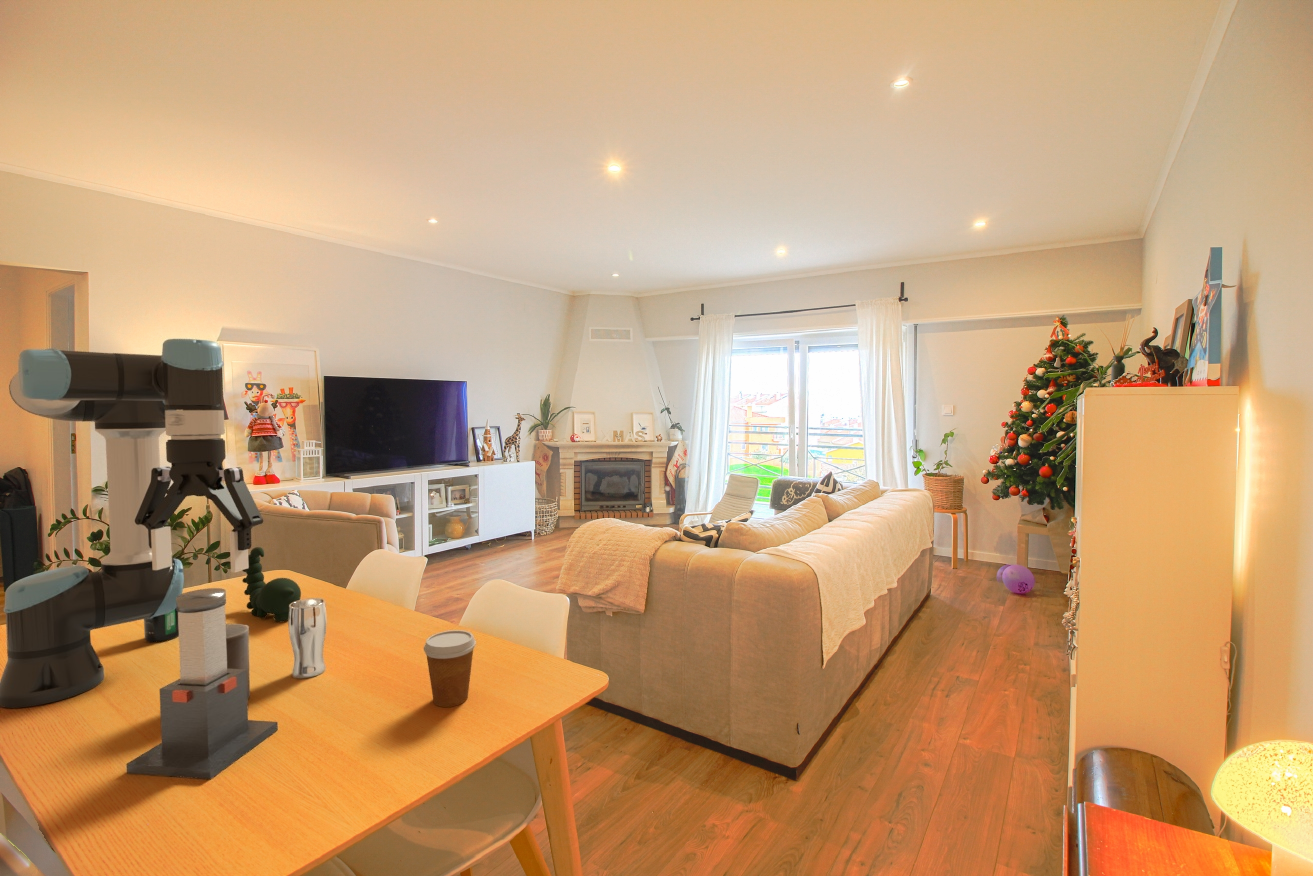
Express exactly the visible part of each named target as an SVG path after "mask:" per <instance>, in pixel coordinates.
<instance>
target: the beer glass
mask: <svg viewBox="0 0 1313 876" xmlns="http://www.w3.org/2000/svg"><path fill="white" fill-rule="evenodd" d="M327 624H328V623H327V609H326V600H325V599H324V598H319V597H311V598H303V599H302V598H301V599H300V600H298V601H295V602H293V603H291V604H290V605H289V620H288V624H287V625H288V634H289V638H290V642H291V643H290V644H291V647H292V652H293V658H294V659H293V668H292V674H291V675H292V677H293V678H295V679H301V680H302V679H311V678H314V677H317V676H319V675H322V674H323V673H324V672H325V671H326V664H325V660H324V645H325V639H326V633H327Z"/></svg>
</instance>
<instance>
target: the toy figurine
mask: <svg viewBox="0 0 1313 876" xmlns="http://www.w3.org/2000/svg"><path fill="white" fill-rule="evenodd" d="M260 557H261V558H264V557H265V550H264V548H262V547H259V546H256V547H253V548H252V549H251V550H250V554H248V563H249V568H247V569H244V570H241V571H242V572H243V573H246V574H247V575H246V577H244V578H242V580H241V581H242V583H244V584H245V583H246V585H247V586H246V589H245V590H244V591H243V593H244V595H245V596H249V598H248V600H249V601H248V602H247V603H246V608H247V609H248V610H251V612H250V614H251V616H253V617H256V616H257V617H258V618H259V619H263V618H266V617H267V616H268V615H269V614H270V615H273V620H274V621H275V622H277V623H283V621H284V622H286V621H289V605H290V604H291V603H293V602H295V601H298V600H301V599H302V597H301V596H302V591H301V587H300V586H299V584H297V582H296V581H295V580H293V579H290V578H287V577H276V578H274V579H271V580H270V581H268V582H265V581H264V580H265V575H264V573H263V572H262V570H263V566H262V564H261V558H260Z"/></svg>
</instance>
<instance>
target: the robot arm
mask: <svg viewBox="0 0 1313 876" xmlns="http://www.w3.org/2000/svg"><path fill="white" fill-rule="evenodd" d="M18 356H19V357H18V372H16V373H15V374H14V375H13V377H12V378H11V379H10V382H9V385H8V388H9V396H10V397H11V399H12V401H13V402H14V403H15V404H16V405H17V406H18V407H19V408H20V409H22V410H24V411H25V412H28V413H29V414H32V415H35V416H39V417H42V418H47V419H51V420H56V421H66V422H92V423H94V431H95V432H97V433H98V434H100V435H101V436H102V437H103V438H104V440H105V455H106V476H107V477H106V478H107V479H106V480H107V499H108V501H107V503H108V523H109V545H110V546H109V549H110V551H109V553H108V554H107V555H106V556H105V557H103V559H102V560H101V562H100V564H101V565H100V568H101V569H100V570H97V571H90V570H89V569H88V568H87V567H86V566H83V565H73V566H70V567H69V566H65V567H59V568H54V569H50V570H45V571H42V572H39V573H35V574H32V575H29V576H26V577H23V578H21V579H19V580H17V581H14V582H13V583H12V584H10V585H9V586H8V587H7V588H6V590H5V593H4V607H3V609H2V610H3V612H4V613H5V626H6V629H5V631H6V654H7V661H6V664H5V667H4V670H3V672H2V675H1V678H0V707H1V708H5V709H18V708H28V707H34V706H41V705H48V704H50V703H55V702H59V701H62V700H66V699H69V698H72V697H75V696H78V695H80V694H83V693H85V692H87V691H90V690H92V689H93V688H96V687H97V686H98V685H100V684H101V683H102V682H103V681H104V679H105V671H104V670H105V668H104V665H103V664H102V663H101V661H100V658H99V656H98V654H97V652H96V651H95V649H94V647H93V645H92V638H91V631H92V630H97V629H101V628H102V629H103V628H107V627H112V626H116V625H121V624H125V623H130V622H131V623H132V622H135V621H141V620H144V619H151V618H153V617H155V616H159V615H163V614H167V613H170V612H172V611H173V610H174V609H175V608H176V597H177V596H179V595H181V594H183V589H184V581H185V576H184V575H185V573H184V566H183V563H182V561H181V560H180V559H178V558H173V556H174V555H173V551H172V533H171V526H168V525H170V524H169V523H168V522H169V520H170V519H171V518H172V516H173V515H174V514H175V512H176V511H177V509H178V508H179V507H180V506H181V504H182V503H183V501H184V500H185V499H186V498H187V497H192V496H196V497H205V498H206V499H207V500H211V502H212V503H213V504H214V505H215V506H216V508H217V509H218V510H219V511H220V512H221V513H222V515H223V516H224V518H225V519H226V520H227V521H228V522H229V524H230V525H231V526H232V527H233V528H232V529H231V530H230V531H229V551H230V552H229V553H230V573H239V572H241V571H242V570H244V569H247V568H249V563H248V555H249V550H250V549H251V548H252V529H253V527H256V526H259V525H262V524H263V523H264V518H263V516H262V515H261V512H260V510H259V508H258V506H257V504H256V502H255V500H254V498H253V496H252V494H251V492H250V490H249V488H248V486H247V483H246V482H245V478H244V471H243V468H242V467H241V466H239V467H229V468H227V467H226V468H225V469H224V466H223V462H224V460H226V459H227V458H226V456H227V455H226V440H225V439H224V438H221V436H222V435H225V433H226V430H225V429H226V425H225V411H224V409H225V408H224V405H225V404H224V376H223V374H224V373H223V367H224V365H225V363H224V361H223V355H222V348H221V346H220V344H219V343H217V342H215V341H212V340H207V339H197V338H195V339H193V338H168V339H166V340H164V341H163V342H162V351H161V355H160V354H156V355H155V354H142V353H139V354H138V353H137V354H136V353H123V352H122V353H121V352H120V353H119V352H117V353H116V352H109V353H108V352H99V351H98V352H96V351H78V350H64V349H57V348H45V349H44V348H43V349H42V348H41V349H40V348H39V349H38V348H33V349H32V348H29V349H28V348H27V349H24V350H22V351H21V352H20V353H19V354H18ZM164 433H165V435H166V436H168V437H170V439H167V441H165V451H166V456H165V457H166V458H165V459H166V461H167V462H168V464H171V466H161V459H160V437H161V435H162V434H164ZM171 481H172V482H173V483H172V484H171Z"/></svg>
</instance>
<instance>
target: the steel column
mask: <svg viewBox="0 0 1313 876" xmlns="http://www.w3.org/2000/svg"><path fill="white" fill-rule="evenodd" d="M226 604H227V590H226V589H225V588H219V587H216V588H215V587H213V588H212V587H211V588H201V589H196V590H190V591H188V592H184V593H183V592H182V594H181V595H179V596H177V597H176V607H177V612H178V626H179V636H178V646H179V647H178V648H179V672H180V678H181V685H184V686H202V687H206V686H208V685H210V684H211V683H213V682H215V681H217V680H219V679H221V678H222V677H224V676H226V675H227V650H226V621H227V620H226ZM180 678H179V679H180Z"/></svg>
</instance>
